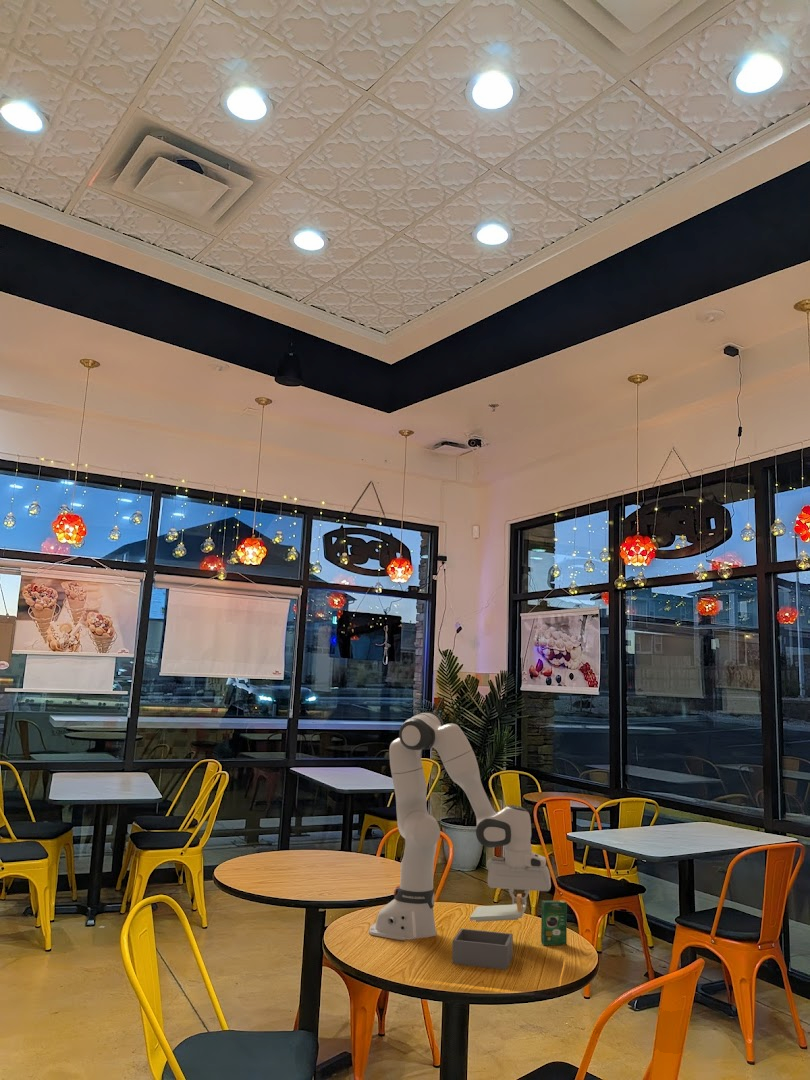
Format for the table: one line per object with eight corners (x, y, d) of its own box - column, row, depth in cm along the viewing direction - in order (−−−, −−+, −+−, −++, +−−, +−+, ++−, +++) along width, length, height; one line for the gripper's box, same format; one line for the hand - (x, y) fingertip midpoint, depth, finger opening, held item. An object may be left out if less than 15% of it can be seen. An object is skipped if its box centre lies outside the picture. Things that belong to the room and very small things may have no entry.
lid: (470, 923, 244) (468, 903, 246) (477, 912, 257) (475, 893, 258) (521, 920, 241) (519, 900, 242) (526, 909, 253) (524, 890, 255)
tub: (452, 966, 225) (452, 940, 227) (460, 953, 238) (461, 928, 239) (507, 972, 221) (507, 946, 223) (512, 958, 234) (512, 933, 235)
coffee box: (564, 942, 251) (563, 899, 254) (567, 945, 249) (567, 901, 251) (540, 943, 250) (540, 899, 252) (544, 946, 247) (543, 902, 250)
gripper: (485, 858, 250) (485, 904, 247) (548, 861, 245) (550, 908, 242) (488, 854, 256) (488, 899, 253) (550, 858, 251) (552, 903, 248)
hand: (519, 903), depth 248 cm, fingers closed on lid
